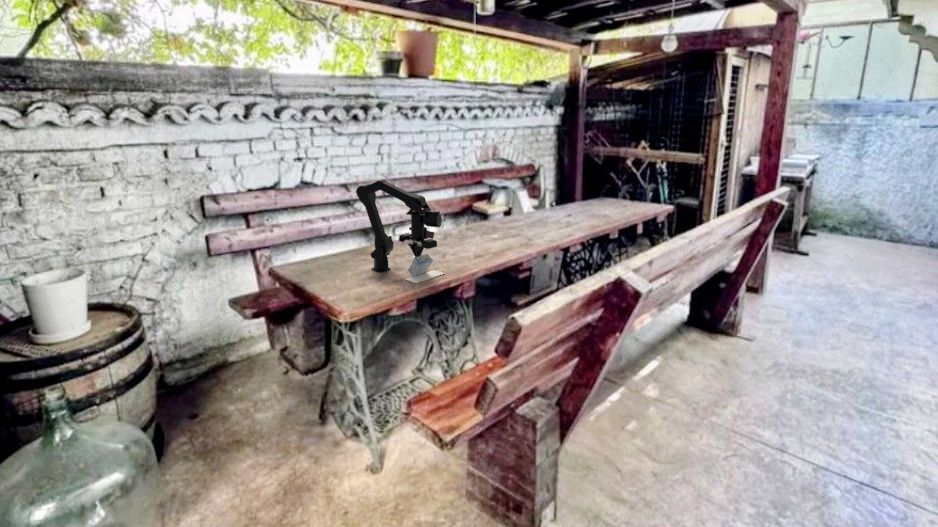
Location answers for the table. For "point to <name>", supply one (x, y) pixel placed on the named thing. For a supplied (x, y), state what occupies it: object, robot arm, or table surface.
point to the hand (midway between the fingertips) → (417, 259)
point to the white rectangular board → (424, 276)
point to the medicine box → (420, 265)
